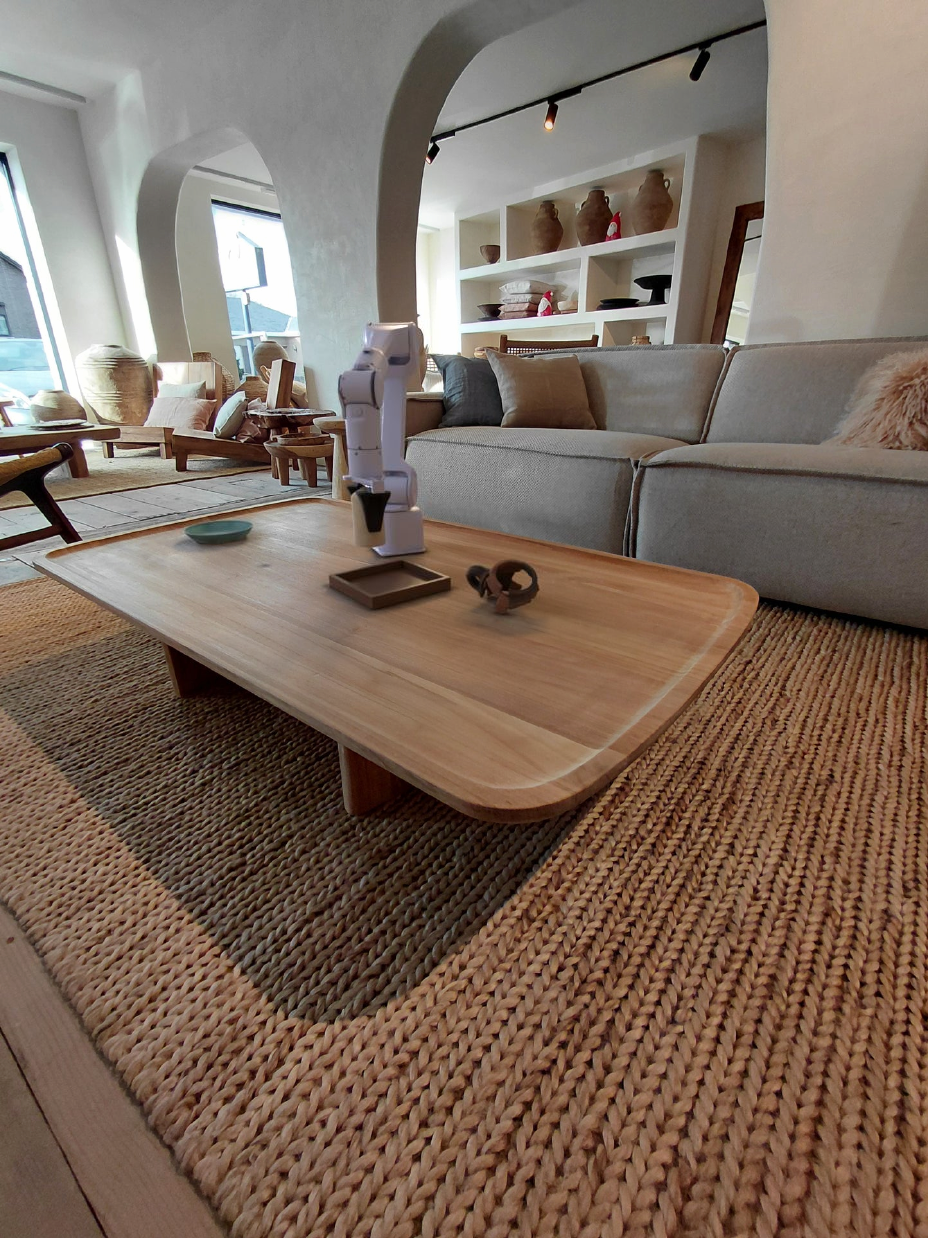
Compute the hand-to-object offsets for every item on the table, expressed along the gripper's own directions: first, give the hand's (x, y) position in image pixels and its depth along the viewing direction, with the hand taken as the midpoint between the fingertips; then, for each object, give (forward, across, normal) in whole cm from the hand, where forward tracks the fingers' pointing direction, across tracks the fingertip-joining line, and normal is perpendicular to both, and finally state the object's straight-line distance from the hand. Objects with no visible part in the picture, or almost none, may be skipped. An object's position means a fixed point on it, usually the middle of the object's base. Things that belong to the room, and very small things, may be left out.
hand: (369, 527), depth 102 cm
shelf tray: (+9, +6, +1) cm, 11 cm away
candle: (+3, 0, 0) cm, 3 cm away
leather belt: (+9, +21, +15) cm, 28 cm away
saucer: (+9, -41, -24) cm, 49 cm away
